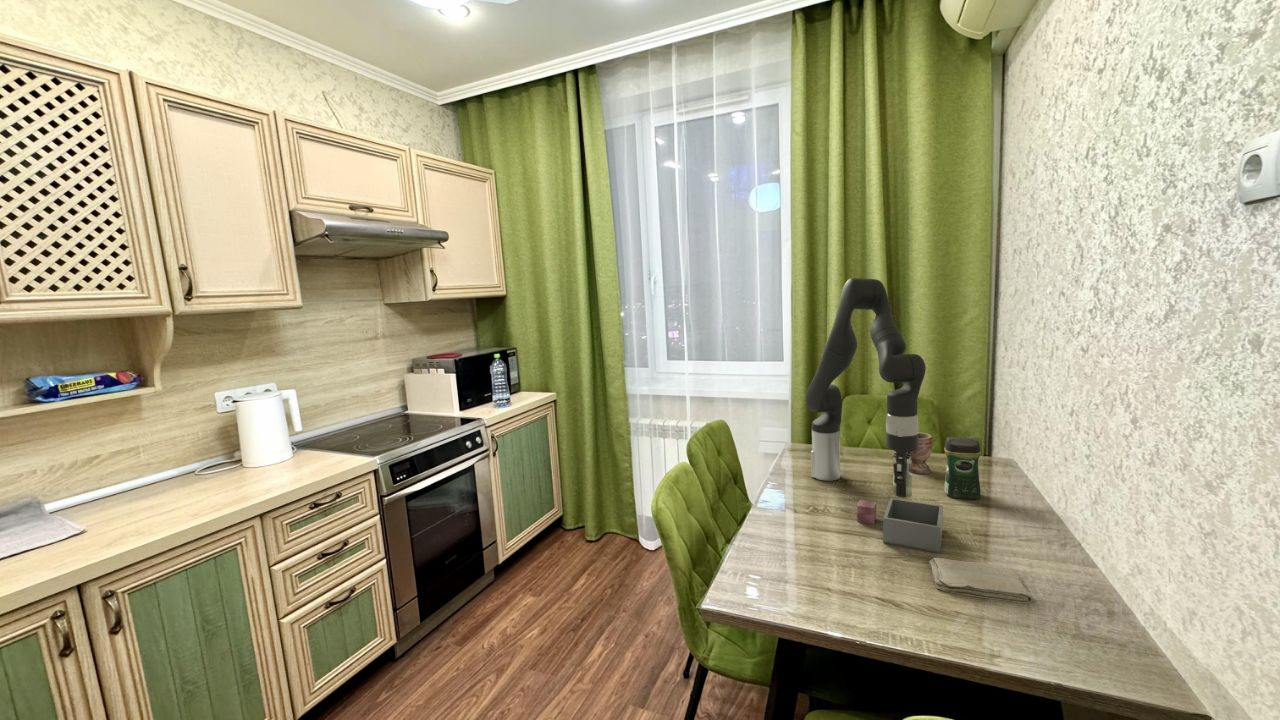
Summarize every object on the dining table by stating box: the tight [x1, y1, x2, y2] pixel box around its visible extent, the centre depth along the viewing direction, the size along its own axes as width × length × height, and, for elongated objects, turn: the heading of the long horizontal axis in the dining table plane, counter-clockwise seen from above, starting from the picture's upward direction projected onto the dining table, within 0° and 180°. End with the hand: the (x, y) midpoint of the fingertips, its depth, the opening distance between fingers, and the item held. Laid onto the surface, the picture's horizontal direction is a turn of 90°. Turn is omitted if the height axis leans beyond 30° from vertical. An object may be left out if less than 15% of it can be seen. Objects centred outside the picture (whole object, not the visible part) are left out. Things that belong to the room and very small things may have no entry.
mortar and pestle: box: [909, 431, 933, 475], centre depth 181 cm, size 12×9×20 cm
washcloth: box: [928, 557, 1034, 604], centre depth 115 cm, size 12×18×3 cm, turn 68°
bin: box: [882, 497, 944, 555], centre depth 137 cm, size 13×14×7 cm
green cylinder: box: [892, 473, 913, 498], centre depth 134 cm, size 4×4×5 cm
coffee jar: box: [943, 436, 982, 500], centre depth 158 cm, size 10×8×19 cm
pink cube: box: [856, 499, 877, 525], centre depth 148 cm, size 4×4×5 cm
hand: (902, 492), depth 134 cm, fingers closed on green cylinder, 4 cm apart
